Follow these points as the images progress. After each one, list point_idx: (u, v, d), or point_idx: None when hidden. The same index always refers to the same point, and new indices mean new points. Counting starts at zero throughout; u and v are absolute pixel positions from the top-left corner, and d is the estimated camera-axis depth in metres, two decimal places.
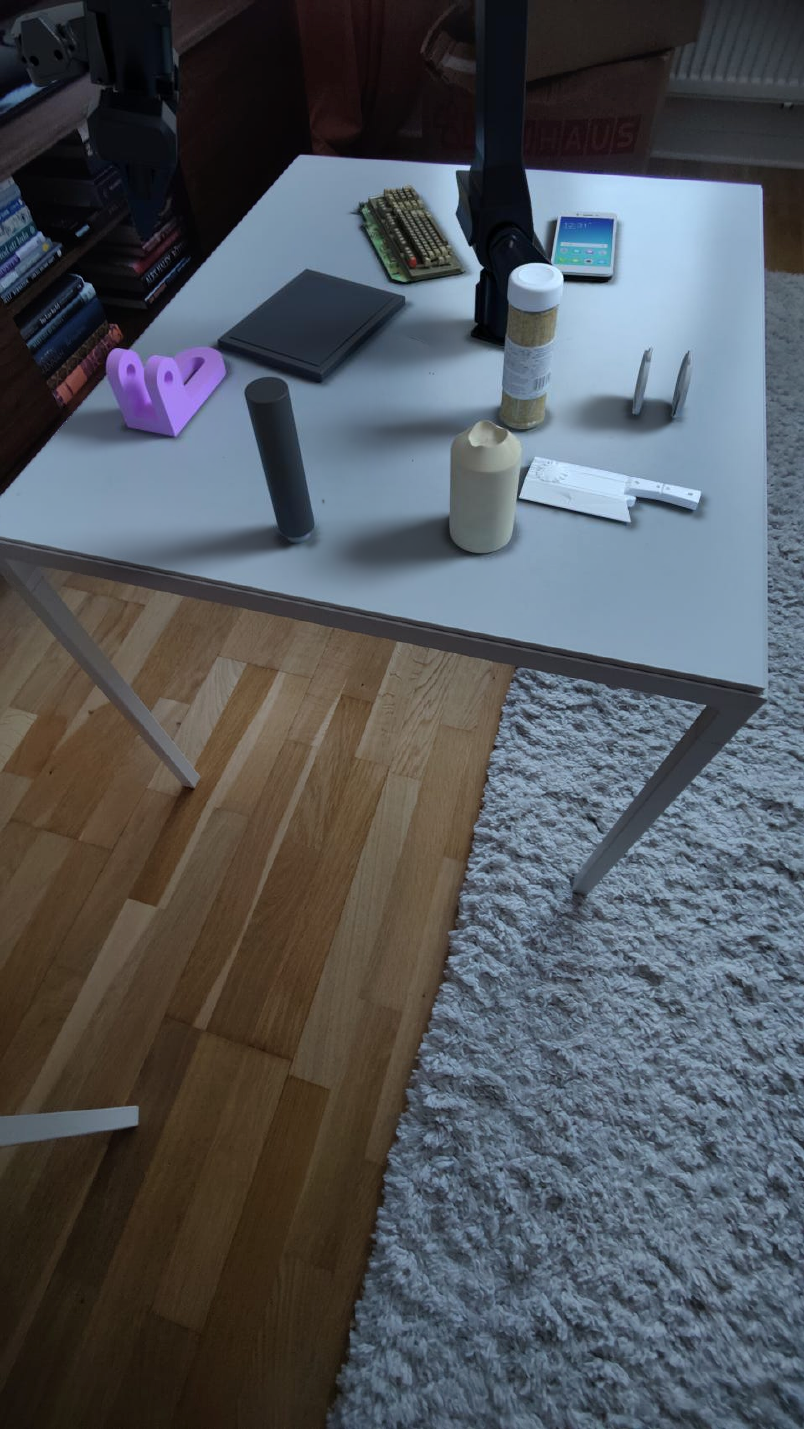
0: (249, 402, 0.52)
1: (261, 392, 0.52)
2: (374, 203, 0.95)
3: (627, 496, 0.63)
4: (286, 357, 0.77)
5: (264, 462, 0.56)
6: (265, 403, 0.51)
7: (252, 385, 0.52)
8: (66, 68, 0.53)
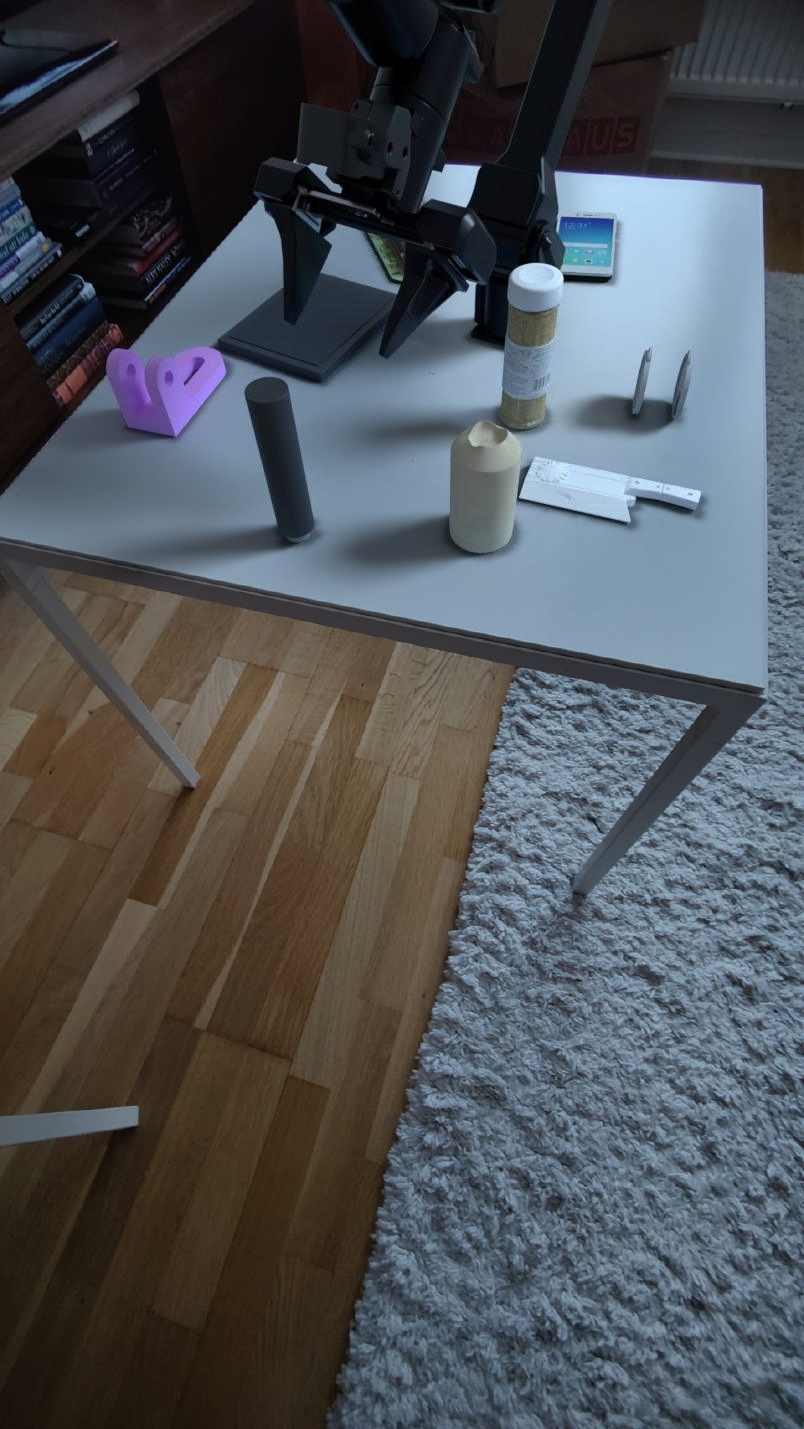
0: (249, 402, 0.52)
1: (261, 392, 0.52)
2: None
3: (627, 496, 0.63)
4: (286, 357, 0.77)
5: (264, 462, 0.56)
6: (265, 403, 0.51)
7: (252, 385, 0.52)
8: (403, 168, 0.47)
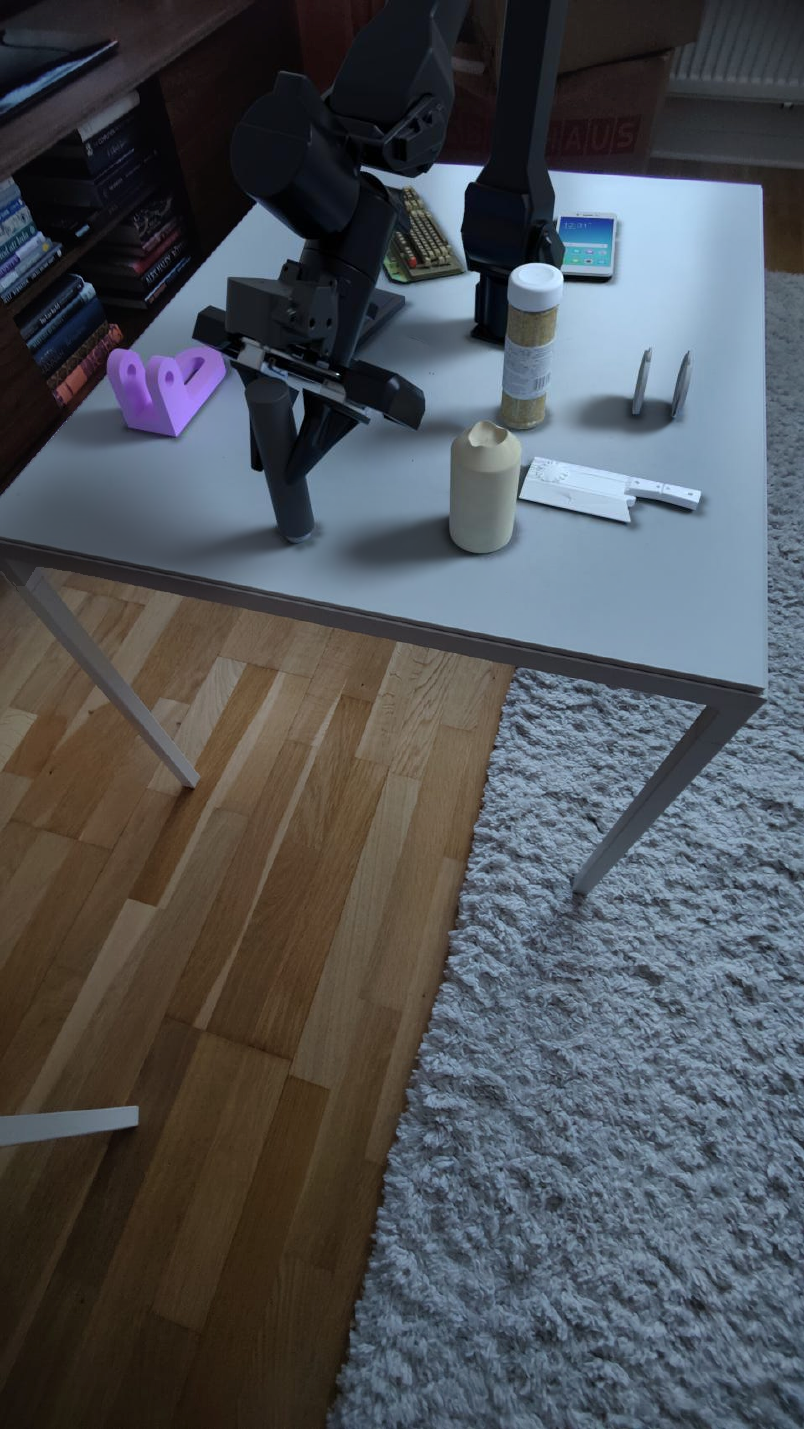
0: (249, 402, 0.52)
1: (261, 392, 0.52)
2: None
3: (627, 496, 0.63)
4: None
5: (264, 462, 0.56)
6: (266, 403, 0.51)
7: (252, 385, 0.52)
8: (328, 335, 0.49)
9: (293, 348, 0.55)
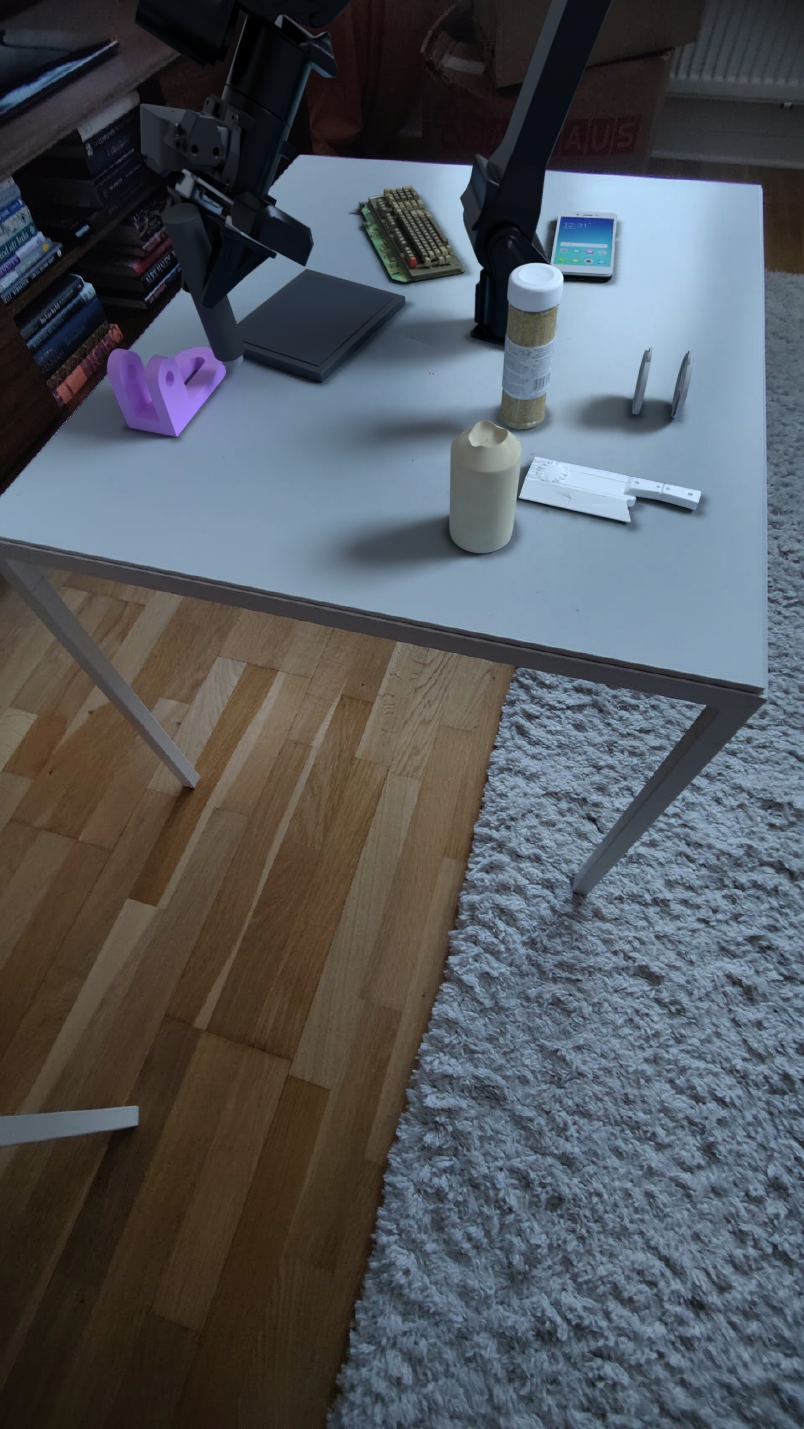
0: None
1: (175, 215, 0.61)
2: (374, 203, 0.95)
3: (627, 496, 0.63)
4: (286, 357, 0.77)
5: None
6: (173, 224, 0.61)
7: (171, 209, 0.62)
8: (217, 164, 0.57)
9: None
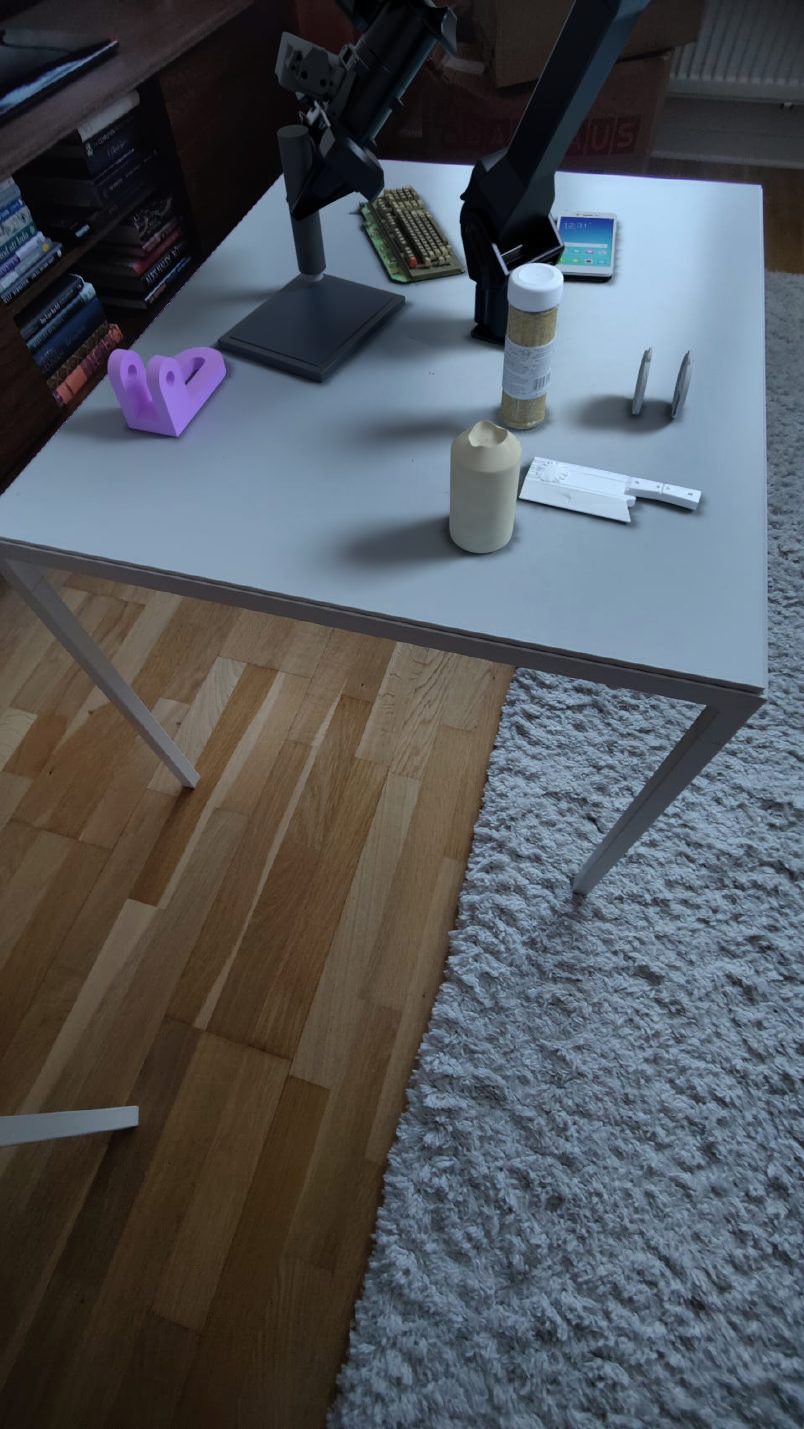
0: None
1: (288, 131, 0.72)
2: (374, 203, 0.95)
3: (627, 496, 0.63)
4: (286, 357, 0.77)
5: None
6: (282, 137, 0.72)
7: (289, 126, 0.73)
8: (322, 94, 0.67)
9: None
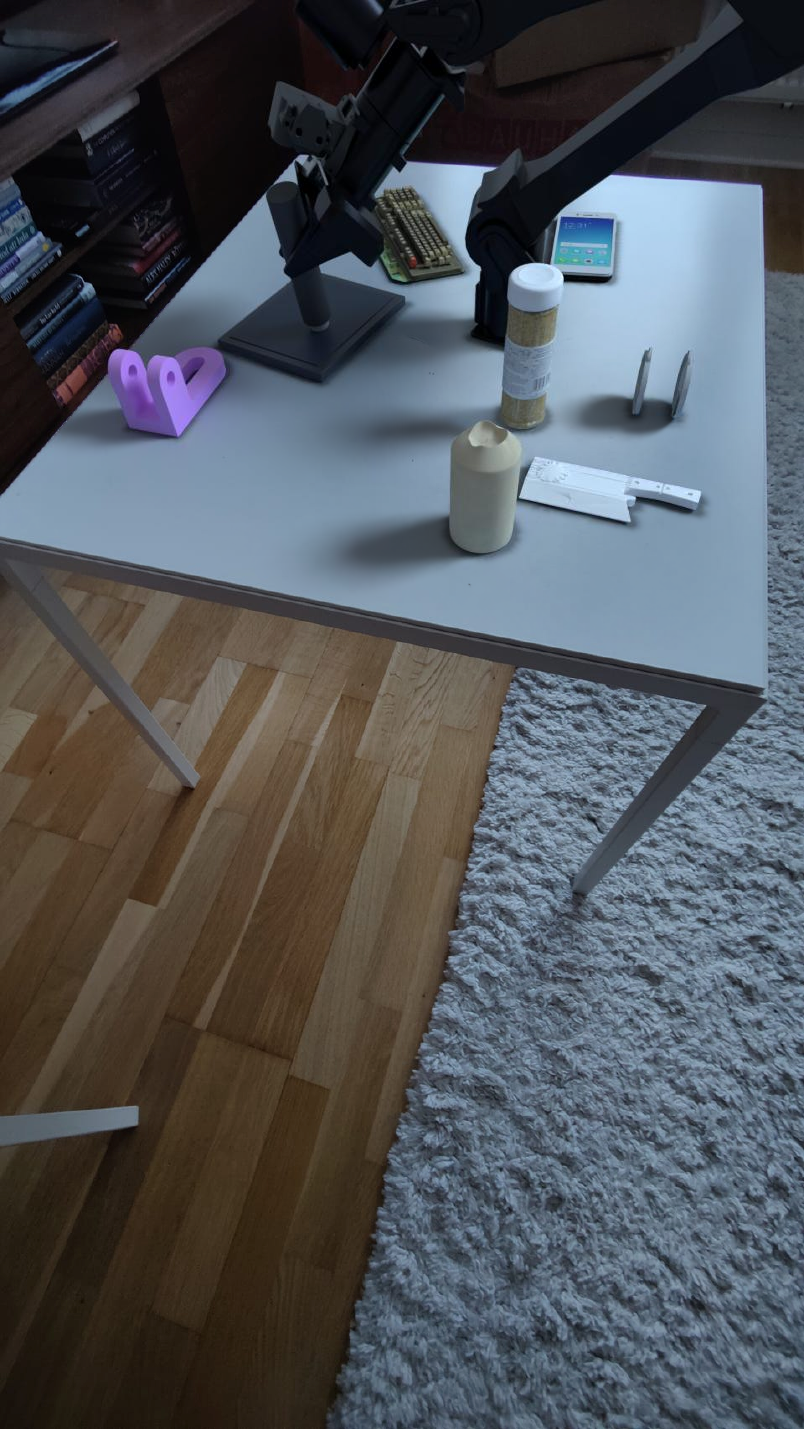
0: (266, 198, 0.67)
1: (277, 193, 0.67)
2: None
3: (627, 496, 0.63)
4: (286, 357, 0.77)
5: None
6: (272, 203, 0.66)
7: (277, 185, 0.67)
8: (318, 152, 0.62)
9: None
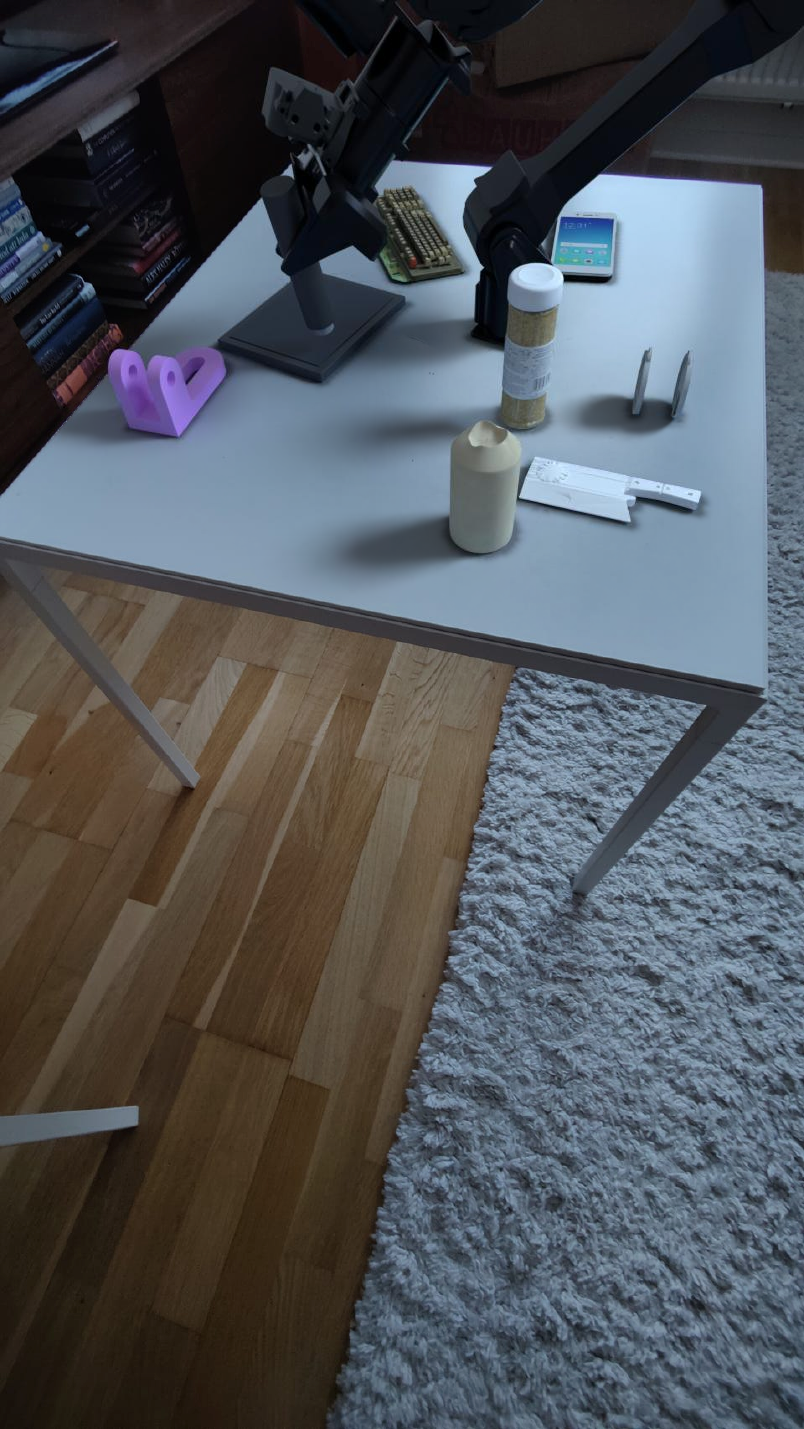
0: (261, 194, 0.64)
1: (272, 188, 0.63)
2: (374, 203, 0.95)
3: (627, 496, 0.63)
4: (286, 357, 0.77)
5: (281, 252, 0.68)
6: (267, 198, 0.63)
7: (271, 180, 0.64)
8: (316, 140, 0.58)
9: None
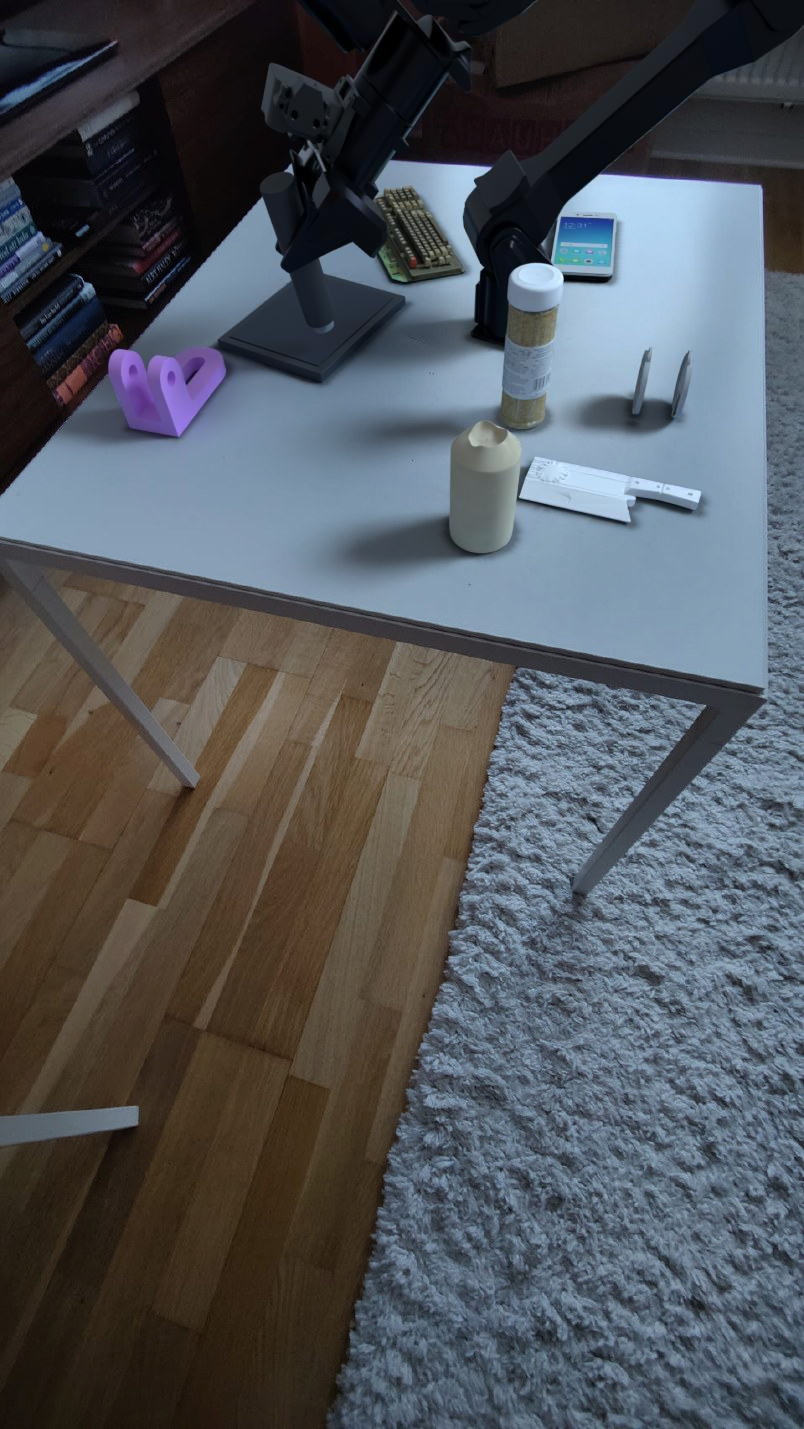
0: None
1: (271, 184, 0.63)
2: None
3: (627, 496, 0.63)
4: (286, 357, 0.77)
5: None
6: (267, 194, 0.63)
7: (271, 177, 0.64)
8: (315, 136, 0.58)
9: None
